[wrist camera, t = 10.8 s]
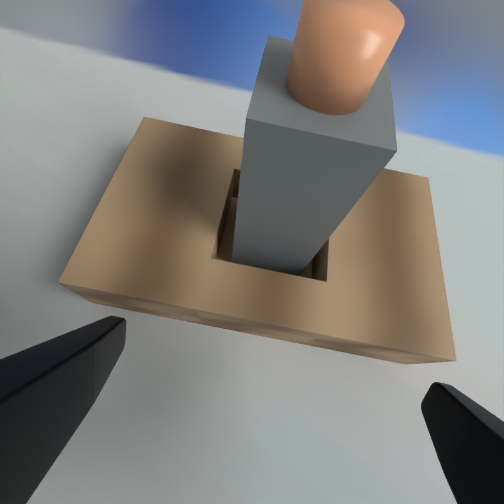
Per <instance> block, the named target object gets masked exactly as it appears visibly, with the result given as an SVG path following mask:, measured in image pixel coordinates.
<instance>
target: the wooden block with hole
mask: <svg viewBox="0 0 504 504" xmlns="http://www.w3.org/2000/svg"><path fill="white" fill-rule="evenodd" d="M243 143H244V138H240V137H236V136H231V135H226V134H222V133H217V132H212V131H208V130H203V129H198V128H194V127H189V126H184V125H180V124H175V123H170V122H166V121H161V120H156V119H152V118H147V117H144V118H143V120H142V122H141V124H140V125H139V127H138V129H137V131H136V133H135V135H134V137H133V139H132V141H131V143H130V145H129V147H128V148H127V150H126V152H125V154H124V156H123V158H122V160H121V162H120V164H119V166H118V168H117V170H116V171H115V173H114V175H113V177H112V179H111V181H110V183H109V185H108V187H107V189H106V191H105V193H104V194H103V196H102V198H101V200H100V202H99V204H98V206H97V208H96V210H95V212H94V214H93V216H92V217H91V219H90V221H89V223H88V225H87V227H86V229H85V231H84V233H83V235H82V237H81V239H80V240H79V242H78V244H77V246H76V248H75V250H74V252H73V254H72V256H71V258H70V260H69V262H68V263H67V265H66V267H65V269H64V271H63V273H62V275H61V277H60V279H59V281H58V283H60V284H62V285H64V286H65V287H67V288H69V289H70V290H72V291H74V292H76V293H77V294H79V295H81V296H83V297H84V298H86V299H88V300H89V301H91V302H93V303H97V304H102V305H107V306H112V307H117V308H122V309H127V310H133V311H138V312H143V313H148V314H153V315H158V316H163V317H168V318H173V319H178V320H183V321H188V322H194V323H199V324H204V325H209V326H214V327H219V328H224V329H229V330H234V331H239V332H244V333H249V334H255V335H260V336H265V337H270V338H275V339H280V340H285V341H290V342H295V343H300V344H305V345H310V346H316V347H321V348H326V349H331V350H336V351H341V352H346V353H351V354H356V355H361V356H366V357H372V358H377V359H382V360H387V361H392V362H397V363H402V364H418V363H434V362H449V361H456V355H455V348H454V342H453V335H452V329H451V322H450V316H449V309H448V303H447V296H446V290H445V283H444V277H443V270H442V264H441V257H440V251H439V245H438V238H437V232H436V225H435V219H434V212H433V206H432V199H431V193H430V186H429V180H428V178H427V177H422V176H417V175H413V174H408V173H403V172H399V171H394V170H389V169H385V168H383V170H382V171H381V172H380V173H379V175H378V176H377V177H376V179H375V180H374V181H373V182H372V184H371V185H370V186H369V187H368V189H367V190H366V191H365V193H364V194H363V195H362V196H361V198H360V199H359V200H358V201H357V203H356V204H355V205H354V207H353V208H352V209H351V210H350V212H349V213H348V214H347V215H346V217H345V218H344V219H343V221H342V222H341V223H340V224H339V226H338V227H337V228H336V229H335V231H334V232H333V233H332V235H331V236H330V237H329V238H328V240H327V241H326V242H325V243H324V245H323V246H322V247H321V249H320V250H319V251H318V252H317V254H316V255H315V256H314V257H313V259H312V260H311V261H310V263H309V264H308V265H307V266H306V268H305V269H304V270H303V271H302V273H301V274H300V275H299V276H295V275H290V274H285V273H280V272H275V271H271V270H266V269H261V268H256V267H251V266H246V265H241V264H236V263H231V262H232V252H233V242H234V232H235V222H236V212H237V203H238V193H239V183H240V173H241V163H242V153H243Z"/></svg>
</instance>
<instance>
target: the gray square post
mask: <svg viewBox="0 0 504 504" xmlns="http://www.w3.org/2000/svg"><path fill="white" fill-rule="evenodd" d="M403 27H404V17H403V15H402V13H401V12H400V11H399V9H398V8H397V7H396V6H395V5H394V4H393V3H391V2H390V1H389V0H303V4H302V9H301V14H300V18H299V22H298V27H297V31H296V36H295V40H294V41H292V40H287V39H283V38H278V37H274V36H269V35H268V38H267V42H266V46H265V49H264V53H263V57H262V61H261V64H260V68H259V72H258V76H257V79H256V83H255V87H254V90H253V94H252V98H251V101H250V105H249V109H248V113H247V116H246V123H245V133H244V143H243V153H242V163H241V173H240V183H239V193H238V203H237V212H236V222H235V232H234V242H233V252H232V262H231V263H236V264H241V265H246V266H251V267H256V268H261V269H266V270H271V271H275V272H280V273H285V274H290V275H295V276H299V275H300V274H301V273H302V271H303V270H304V269H305V268H306V266H307V265H308V264H309V263H310V261H311V260H312V259H313V257H314V256H315V255H316V254H317V252H318V251H319V250H320V249H321V247H322V246H323V245H324V243H325V242H326V241H327V240H328V238H329V237H330V236H331V235H332V233H333V232H334V231H335V229H336V228H337V227H338V226H339V224H340V223H341V222H342V221H343V219H344V218H345V217H346V215H347V214H348V213H349V212H350V210H351V209H352V208H353V207H354V205H355V204H356V203H357V201H358V200H359V199H360V198H361V196H362V195H363V194H364V193H365V191H366V190H367V189H368V187H369V186H370V185H371V184H372V182H373V181H374V180H375V179H376V177H377V176H378V175H379V173H380V172H381V171H382V170H383V168H384V167H385V166H386V165H387V163H388V162H389V161H390V159H391V158H392V157H393V156H394V154H395V153H396V152H397V144H396V133H395V123H394V112H393V101H392V91H391V80H390V70H389V62H386V60H387V58H388V56H389V54H390V52H391V50H392V48H393V46H394V44H395V43H396V41H397V38H398V37H399V35H400V33H401V31H402V29H403Z"/></svg>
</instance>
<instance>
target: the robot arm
mask: <svg viewBox="0 0 504 504" xmlns="http://www.w3.org/2000/svg"><path fill="white" fill-rule="evenodd" d="M125 337H126V320H125V319H124V318H121V317H116V316H109V317H106V318H103V319H101V320H98V321H96V322H93V323H91V324H88V325H86V326H83V327H81V328H78V329H76V330H73V331H71V332H68V333H66V334H63V335H61V336H58V337H55V338H53V339H50V340H48V341H45V342H43V343H40V344H38V345H35V346H33V347H30V348H28V349H25V350H23V351H20V352H18V353H15V354H13V355H10V356H8V357H5V358H2V359H0V504H26V503H27V502H28V500H29V499H30V497H31V496H32V494H33V493H34V491H35V490H36V488H37V487H38V485H39V484H40V482H41V481H42V479H43V478H44V477H45V475H46V474H47V472H48V471H49V469H50V468H51V466H52V465H53V463H54V462H55V460H56V459H57V457H58V456H59V454H60V453H61V451H62V450H63V448H64V447H65V446H66V444H67V443H68V441H69V440H70V438H71V437H72V435H73V434H74V432H75V431H76V429H77V428H78V426H79V425H80V423H81V422H82V420H83V419H84V418H85V416H86V415H87V413H88V412H89V410H90V408H91V407H92V405H93V404H94V402H95V400H96V399H97V397H98V395H99V393H100V392H101V390H102V388H103V386H104V384H105V382H106V380H107V379H108V377H109V375H110V373H111V371H112V369H113V368H114V366H115V364H116V362H117V360H118V358H119V357H120V355H121V353H122V351H123V349H124V346H125ZM421 410H422V414H423V417H424V419H425V422H426V425H427V428H428V431H429V434H430V436H431V439H432V442H433V445H434V448H435V450H436V453H437V456H438V459H439V462H440V464H441V467H442V470H443V472H444V475H445V477H446V479H447V482H448V484H449V486H450V488H451V491H452V493H453V495H454V497H455V500H456V502H457V504H504V422H503V421H502V420H501V419H499V418H498V417H496V416H495V415H493V414H492V413H490V412H489V411H488V410H486V409H485V408H483V407H482V406H480V405H479V404H477V403H476V402H475V401H473V400H472V399H470V398H469V397H467V396H466V395H464V394H463V393H462V392H460V391H459V390H457V389H456V388H454V387H453V386H451V385H449V384H444V383H439V382H434V383H433V384H432V385H431V386H430V388H429V390H428V392H427V393H426V395H425V397H424V399H423V401H422V403H421Z"/></svg>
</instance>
